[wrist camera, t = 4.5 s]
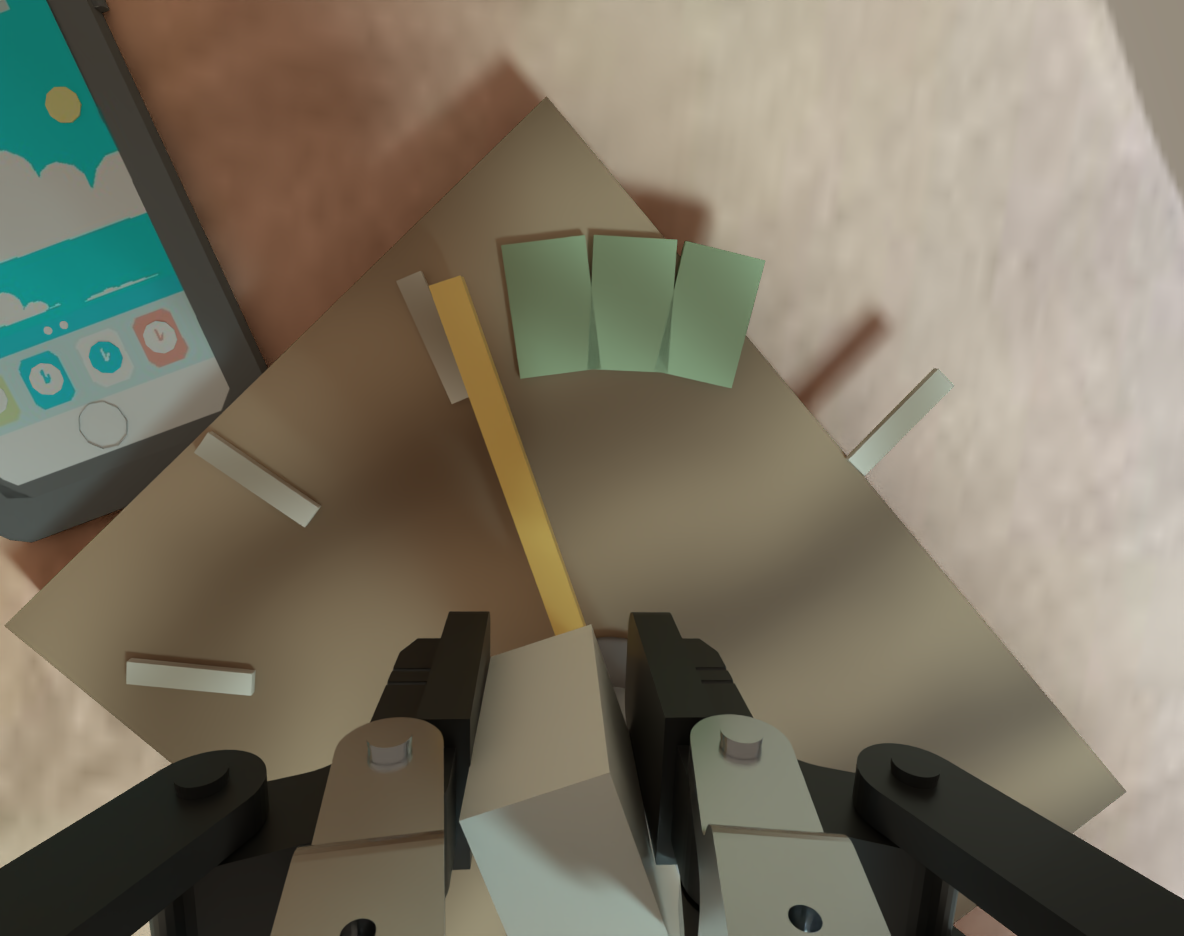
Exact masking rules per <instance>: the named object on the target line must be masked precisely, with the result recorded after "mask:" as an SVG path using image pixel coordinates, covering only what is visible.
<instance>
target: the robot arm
mask: <svg viewBox="0 0 1184 936" xmlns="http://www.w3.org/2000/svg"><path fill="white" fill-rule="evenodd" d="M489 664H490V612H489V611H449V613H448V616H447V619H446V623H445V626H444V629H443V632H442V635H441V638H417V639H416V640H415V641H413V642H412V643H411V644H410V645H408V646H407V647H406V648H404V649H403V650H402V651H401V652H400V653H399V655H398V658H397V660H396V662H395V665H394V667H393V671H392V672H391V674H390V676H389V679H388V681H387V685H386V686H385V688H384V691H383V693H382V695H381V698H380V700H379V702H378V705H377V707H376V710H375V712H374V714H373V717H372V719H371V721H370V723H367V724H364V725H362V726H360V727H358V728H356V729H354V730H352V731H351V732H350V733H348V734H347V735H346V736H345V737H344V738H343V739H341V740H340V742H339V743H338V745H337V746H336V749H335V751H334V755H333V759H332V764H330V765H328V766H326V767H323V768H321V769H318V770H315V771H311V772H307V773H303V774H299V775H294V776H290V777H285V778H280V779H276V780H271V781H267V769H266V765H265V763H264V762H263V760H262V759H261V758H259V757H258V756H257V755H255V754H252V753H250V752H246V751H241V750H216V751H210V752H204V753H200V754H197V755H193V756H190V757H187V758H184V759H182V760H179V761H177V762H175V763H173V764H171V765H169V766H167V767H165V768H163V769H162V770H160V771H158V772H157V773H155V774H153V775H152V776H150V777H148V778H147V779H145V780H144V781H142V782H140V783H139V784H137V785H135V786H134V787H132V788H131V789H129V790H127V791H126V792H124V793H122V794H121V795H119V796H117V797H116V798H114V799H113V800H111V801H109V802H108V803H106V804H104V805H103V806H101V807H100V808H98V809H96V810H95V811H93V812H91V813H90V814H88V815H86V816H85V817H83V818H82V819H80V820H78V821H77V822H75V823H73V824H72V825H70V826H68V827H67V828H65V829H64V830H62V831H60V832H59V833H57V834H55V835H54V836H52V837H51V838H49V839H47V840H46V841H44V842H42V843H41V844H39V845H37V846H36V847H34V848H33V849H31V850H29V851H28V852H26V853H24V854H23V855H21V856H20V857H18V858H16V859H15V860H13V861H11V862H10V863H8V864H6V865H5V866H3V867H2V868H0V936H131V935H132V934H134V933H135V932H136V931H137V930H138V929H140V928H141V927H142V926H143V925H145V924H146V923H147V922H148V921H149V923H150V932H151V936H445V898H446V896H447V894H448V890H449V886H450V880H451V874H452V870H470V868H471V860H472V851H471V849H470V846H469V844H468V841H467V839H466V837H465V834H464V832H463V830H462V827H461V825H460V822H459V818H460V813H461V808H462V803H463V797H464V792H465V787H466V782H467V777H468V772H469V767H470V765H471V758H472V752H473V746H474V741H475V736H476V731H477V725H478V720H479V715H480V710H481V705H482V700H483V695H484V689H485V684H486V679H487V674H488V669H489ZM625 717H626V725H627V728H628V731H629V735H630V740H631V745H632V750H633V755H634V760H635V765H636V770H637V776H638V781H639V786H640V791H641V796H642V801H643V806H644V811H645V816H646V820H647V825H648V830H649V835H650V839H651V844H652V849H653V853H654V858H655V863H656V865H678V869H679V873H680V885H679V899H678V916H679V930H680V936H966V935H964V934H963V933H962V932H961V931H959V930H958V929H957V928H956V927H954V926H953V922H954V916H955V910H956V904H957V898H958V892H960V893H961V894H963V895H964V896H965V897H967V898H968V899H969V900H971V901H972V902H973V903H975V904H976V905H977V906H979V907H980V908H981V909H983V910H984V911H985V912H987V913H988V914H989V915H991V916H992V917H993V918H995V919H996V920H997V921H999V922H1000V923H1001V924H1003V925H1004V926H1005V927H1007V928H1008V929H1009V930H1011V931H1012V932H1013V933H1015V934H1016V935H1017V936H1184V899H1182V898H1180V897H1179V896H1177V895H1175V894H1174V893H1172V892H1170V891H1168V890H1167V889H1165V888H1163V887H1162V886H1160V885H1158V884H1157V883H1155V882H1153V881H1151V880H1150V879H1148V878H1146V877H1145V876H1143V875H1141V874H1140V873H1138V872H1136V871H1134V870H1133V869H1131V868H1129V867H1128V866H1126V865H1124V864H1123V863H1121V862H1119V861H1118V860H1116V859H1114V858H1112V857H1111V856H1109V855H1107V854H1106V853H1104V852H1102V851H1101V850H1099V849H1097V848H1095V847H1094V846H1092V845H1090V844H1089V843H1087V842H1085V841H1084V840H1082V839H1080V838H1078V837H1077V836H1075V835H1073V834H1072V833H1070V832H1068V831H1067V830H1065V829H1063V828H1061V827H1060V826H1058V825H1056V824H1055V823H1053V822H1051V821H1050V820H1048V819H1046V818H1044V817H1043V816H1041V815H1039V814H1038V813H1036V812H1034V811H1033V810H1031V809H1029V808H1027V807H1026V806H1024V805H1022V804H1021V803H1019V802H1017V801H1016V800H1014V799H1012V798H1011V797H1009V796H1007V795H1005V794H1004V793H1002V792H1000V791H999V790H997V789H995V788H994V787H992V786H990V785H988V784H987V783H985V782H983V781H982V780H980V779H978V778H977V777H975V776H973V775H971V774H970V773H968V772H966V771H965V770H963V769H961V768H960V767H958V766H956V765H954V764H953V763H951V762H949V761H948V760H946V759H944V758H942V757H940V756H938V755H936V754H934V753H932V752H929V751H927V750H924V749H921V748H917V747H914V746H910V745H904V744H896V743H881V744H875V745H872V746H869V747H867V748H865V749H863V750H862V751H861V752H860V753H859V755H858V757H857V764H856V772H855V773H853V772H848V771H843V770H837V769H832V768H827V767H822V766H817V765H813V764H809V763H806V762H803V761H800V760H798V759H797V758H796V755H795V753H794V750H793V747H792V745H791V743H790V741H789V740H788V738H787V737H786V736H785V735H784V734H783V733H782V732H781V731H779V730H778V729H777V728H775V727H774V726H772V725H770V724H768V723H766V722H763V721H761V720H758V719H755V718H753V716H752V714H751V712H750V711H749V709H748V707H747V705H746V703H745V701H744V699H743V698H742V696H741V694H740V692H739V690H738V688H737V686H736V684H735V683H733V679H732V677H731V675H730V673H729V671H728V670H726V666H725V664H724V662H723V660H722V658H721V657H720V655H719V653H718V651H716V650H715V649H713V648H712V647H711V646H709V645H708V644H706V643H705V642H704V641H702V640H701V639H700V638H682V637H681V635H680V632H679V630H678V628H677V626H676V623H675V621H674V619H673V617H672V615H671V613H670V612H631V613H630V615H629V622H628V638H627V659H626V679H625Z"/></svg>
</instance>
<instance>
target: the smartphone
mask: <svg viewBox="0 0 1184 936" xmlns="http://www.w3.org/2000/svg"><path fill="white" fill-rule="evenodd" d="M106 11H109V8H108V6H107V3H106V1H105V0H0V536H2V537H5V538H7V539H9V540H15V541H24V542H34V541H37V540H40V539H42V538H45V537H48V536H50V535H53V534H56V533H58V532H61V531H64V530H66V529H69V528H71V527H74V526H77V525H79V524H82V523H85V522H87V521H90V520H93V519H95V518H98V517H101V516H103V515H106V514H109V513H111V512H114V511H117V510H119V509H122V508H125V507H126V506H128V505H129V504H130V503H131V502H132V501H133V500H134V499H135V498H136V497H137V496H138V495H139V494H140V493H141V492H142V491H143V490H144V489H145V488H146V487H147V486H148V485H149V484H150V483H151V482H152V481H153V480H154V479H155V478H156V477H157V476H158V475H159V474H160V473H161V472H162V471H163V470H164V469H165V468H166V467H167V466H168V465H170V464H171V463H172V462H173V461H174V460H175V459H176V458H177V457H178V456H179V455H180V454H181V453H182V452H183V451H184V450H185V449H186V448H187V447H188V446H189V445H190V444H191V443H192V442H193V441H194V440H195V439H196V438H197V437H198V436H199V435H200V434H201V433H202V432H203V431H204V430H205V429H206V428H207V427H208V426H209V425H210V424H212V423H213V422H214V421H215V420H216V419H217V418H218V417H219V416H220V415H221V414H222V413H223V412H224V411H225V410H226V409H227V408H228V407H229V406H230V405H231V404H232V403H233V402H234V401H235V400H236V399H237V398H238V397H239V396H240V395H241V394H242V393H243V392H244V391H245V390H246V389H247V388H248V387H249V386H250V385H251V384H252V383H254V382H255V381H256V380H257V379H258V378H259V377H260V376H261V375H262V374H263V373H264V372H265V371H266V370H267V369H268V368H267V365H266V363H265V361H264V359H263V357H262V355H261V353H260V350H259V348H258V346H257V344H256V342H255V340H254V338H253V335H252V333H251V331H250V329H249V327H248V325H247V323H246V320H245V318H244V316H243V314H242V312H241V310H240V308H239V305H238V303H237V301H236V299H235V297H234V295H233V293H232V290H231V288H230V286H229V284H228V282H227V280H226V278H225V275H224V273H223V271H222V269H221V267H220V265H219V263H218V260H217V258H216V256H215V254H214V252H213V250H212V248H211V245H210V243H209V241H208V239H207V237H206V235H205V233H204V230H203V228H202V226H201V224H200V222H199V220H198V218H197V215H196V213H195V211H194V209H193V207H192V205H191V203H190V200H189V198H188V196H187V194H186V192H185V190H184V188H183V185H182V183H181V181H180V179H179V177H178V175H177V173H176V170H175V168H174V166H173V164H172V162H171V160H170V158H169V155H168V153H167V151H166V149H165V147H164V145H163V143H162V140H161V138H160V136H159V134H158V132H157V130H156V128H155V125H154V123H153V121H152V119H151V117H150V115H149V113H148V110H147V108H146V106H145V104H144V102H143V100H142V98H141V95H140V93H139V91H138V89H137V87H136V85H135V83H134V80H133V78H132V76H131V74H130V72H129V70H128V68H127V65H126V63H125V61H124V59H123V57H122V55H121V53H120V50H119V48H118V46H117V44H116V42H115V40H114V38H113V35H112V33H111V31H110V29H109V27H108V25H107V23H106V20H105V18H104V16H103V14H102V13H104V12H106Z"/></svg>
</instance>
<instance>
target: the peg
mask: <svg viewBox="0 0 1184 936" xmlns="http://www.w3.org/2000/svg"><path fill="white" fill-rule="evenodd" d="M429 289H430V291H431V294H432V297H433V300H434V302H435V305H436V308H437V311H438V314H439V316H440V319H441V322H442V325H443V327H444V330H445V333H446V336H447V338H448V341H449V344H450V347H451V349H452V352H453V355H454V358H455V360H456V363H457V366H458V369H459V371H460V374H461V377H462V380H463V382H464V385H465V388H466V391H467V393H468V396H469V399H470V402H471V405H472V407H473V410H474V413H475V416H476V418H477V421H478V424H479V427H480V429H481V432H482V435H483V438H484V440H485V443H486V446H487V449H488V451H489V454H490V457H491V460H492V462H493V465H494V468H495V471H496V473H497V476H498V479H499V482H500V484H501V487H502V490H503V493H504V496H505V498H506V501H507V504H508V507H509V509H510V512H511V515H512V518H513V520H514V523H515V526H516V529H517V531H518V534H519V537H520V540H521V542H522V545H523V548H524V551H525V553H526V556H527V559H528V562H529V564H530V567H531V570H532V573H533V575H534V578H535V581H536V584H537V587H538V589H539V592H540V595H541V598H542V600H543V603H544V606H545V609H546V611H547V614H548V617H549V620H550V622H551V625H552V628H553V631H554V633H555V636H553V637H550V638H547V639H544V640H541V641H538V642H535V643H532V644H529V645H526V646H523V647H520V648H517V649H513V650H510V651H507V652H504V653H501V654H498V655H495V656H492V657H491V659H490V664H489V669H488V674H487V679H486V684H485V689H484V695H483V700H482V705H481V710H480V715H479V720H478V725H477V731H476V736H475V741H474V746H473V752H472V758H471V765H470V767H469V772H468V777H467V782H466V787H465V792H464V797H463V803H462V808H461V813H460V818H459V822H460V825H461V827H462V830H463V832H464V834H465V837H466V839H467V841H468V844H469V846H470V849H471V851H472V853H473V856H474V858H475V860H476V863H477V865H478V868H479V870H480V872H481V875H482V877H483V879H484V882H485V884H486V886H487V889H488V891H489V894H490V896H491V898H492V901H493V903H494V905H495V908H496V910H497V913H498V915H499V917H500V920H501V922H502V924H503V927H504V929H505V932H506V934H507V936H680V930H679V916H678V899H679V885H680V873H679V869H678V865H656V863H655V858H654V853H653V849H652V844H651V839H650V835H649V830H648V825H647V820H646V816H645V811H644V806H643V801H642V796H641V791H640V786H639V781H638V776H637V770H636V765H635V760H634V755H633V750H632V745H631V740H630V735H629V731H628V728H627V725H626V717H625V689H624V688H620V687H613V685H612V682H611V679H610V676H609V674H608V671H607V668H606V665H605V662H604V659H603V656H602V654H601V651H600V648H599V645H598V642H597V639H596V636H595V633H594V631H593V628H592V625H591V624H590V625H587V626H586V624H585V621H584V618H583V615H582V612H581V610H580V607H579V604H578V601H577V598H576V595H575V592H574V590H573V587H572V584H571V581H570V578H569V575H568V572H567V570H566V567H565V564H564V561H563V558H562V555H561V553H560V550H559V547H558V544H557V541H556V538H555V535H554V533H553V530H552V527H551V524H550V521H549V518H548V515H547V513H546V510H545V507H544V504H543V501H542V498H541V496H540V493H539V490H538V487H537V484H536V481H535V478H534V476H533V473H532V470H531V467H530V464H529V461H528V459H527V456H526V453H525V450H524V447H523V444H522V441H521V439H520V436H519V433H518V430H517V427H516V424H515V421H514V419H513V416H512V413H511V410H510V407H509V404H508V402H507V399H506V396H505V393H504V390H503V387H502V384H501V382H500V379H499V376H498V373H497V370H496V367H495V365H494V362H493V359H492V356H491V353H490V350H489V347H488V345H487V342H486V339H485V336H484V333H483V330H482V327H481V325H480V322H479V319H478V316H477V313H476V310H475V308H474V305H473V302H472V299H471V296H470V293H469V290H468V288H467V285H466V282H465V279H464V277H462V276H461V275H460V276H457V277H454V278H451V279H448V280H445V281H442V282H439V283H436V284H433V285H430V286H429Z"/></svg>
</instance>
